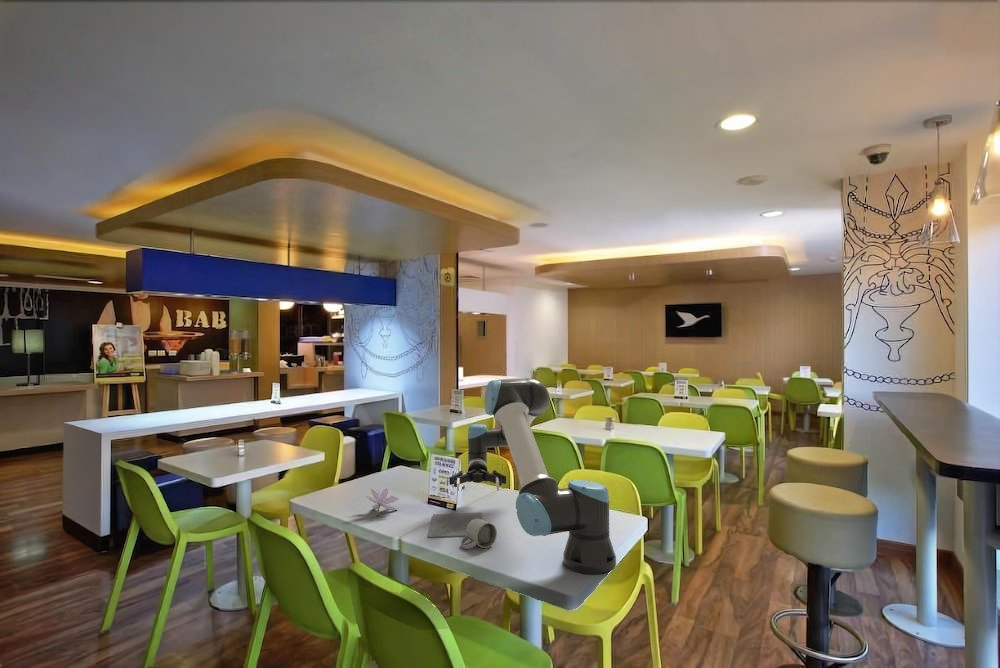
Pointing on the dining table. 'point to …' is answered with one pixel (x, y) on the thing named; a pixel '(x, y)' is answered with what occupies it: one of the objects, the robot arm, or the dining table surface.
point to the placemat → (451, 524)
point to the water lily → (382, 499)
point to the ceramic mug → (479, 534)
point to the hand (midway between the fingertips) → (477, 487)
